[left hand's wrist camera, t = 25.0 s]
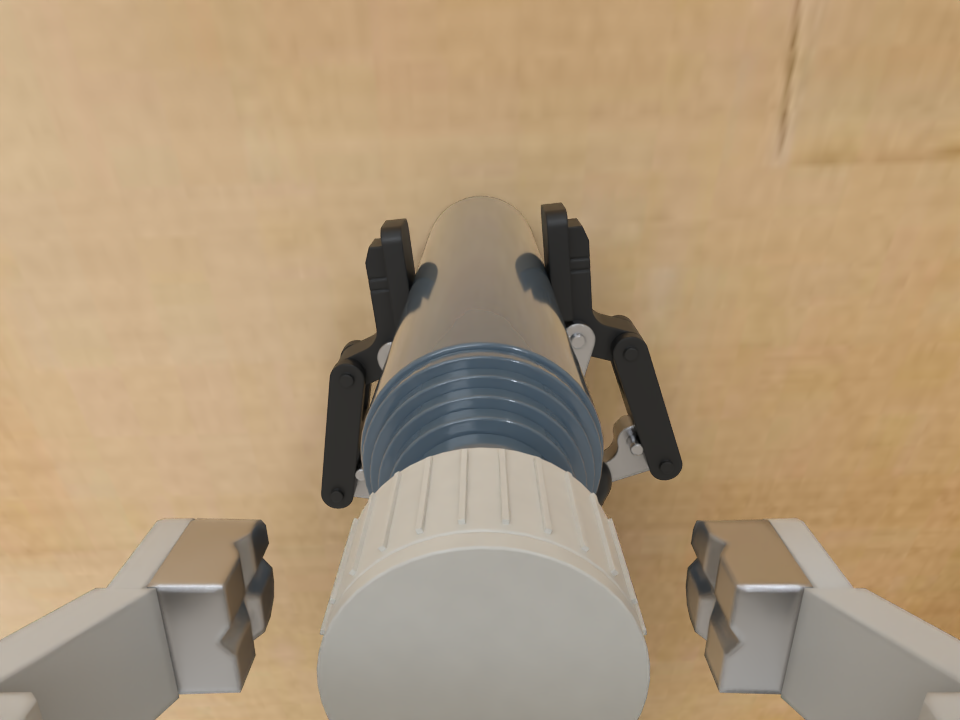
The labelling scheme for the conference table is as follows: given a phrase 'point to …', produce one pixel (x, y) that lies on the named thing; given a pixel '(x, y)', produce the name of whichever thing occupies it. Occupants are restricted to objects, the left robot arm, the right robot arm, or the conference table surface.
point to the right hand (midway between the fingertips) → (472, 217)
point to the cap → (483, 600)
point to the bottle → (481, 356)
